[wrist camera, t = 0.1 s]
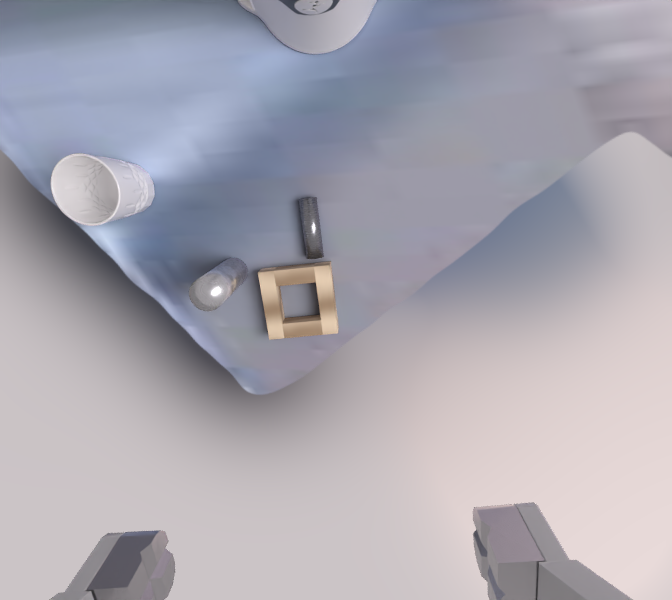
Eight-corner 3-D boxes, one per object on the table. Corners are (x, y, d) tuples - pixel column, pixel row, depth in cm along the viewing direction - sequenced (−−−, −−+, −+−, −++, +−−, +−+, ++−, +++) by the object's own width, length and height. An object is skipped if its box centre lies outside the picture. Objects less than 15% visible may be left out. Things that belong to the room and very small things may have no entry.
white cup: (113, 221, 56) (65, 230, 47) (94, 163, 54) (39, 160, 45) (166, 212, 56) (129, 219, 46) (149, 152, 53) (106, 147, 44)
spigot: (218, 259, 57) (185, 279, 46) (245, 256, 57) (219, 276, 46) (223, 286, 59) (193, 312, 47) (250, 283, 58) (226, 309, 47)
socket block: (261, 268, 58) (257, 272, 55) (330, 261, 57) (329, 265, 55) (272, 333, 61) (269, 339, 58) (338, 326, 60) (338, 333, 58)
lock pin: (299, 198, 55) (297, 199, 53) (317, 197, 55) (315, 197, 52) (307, 256, 57) (305, 259, 55) (324, 254, 57) (323, 258, 55)
